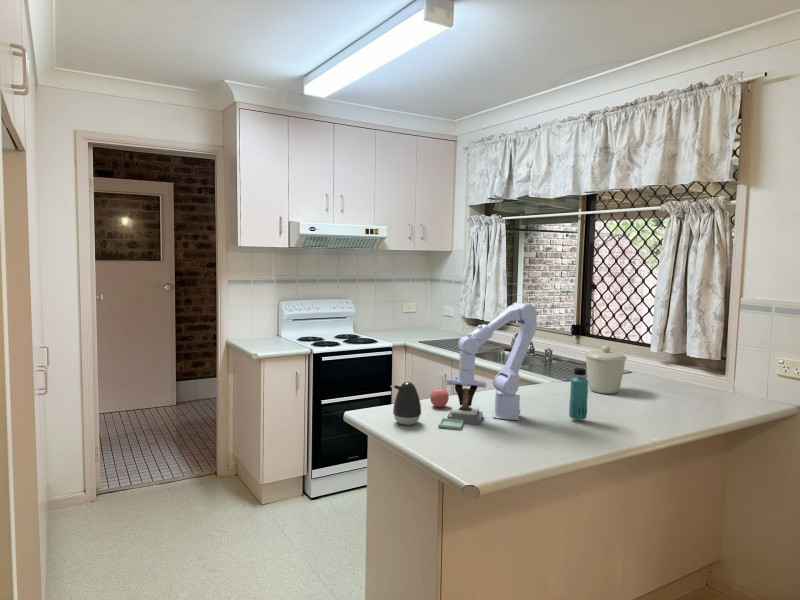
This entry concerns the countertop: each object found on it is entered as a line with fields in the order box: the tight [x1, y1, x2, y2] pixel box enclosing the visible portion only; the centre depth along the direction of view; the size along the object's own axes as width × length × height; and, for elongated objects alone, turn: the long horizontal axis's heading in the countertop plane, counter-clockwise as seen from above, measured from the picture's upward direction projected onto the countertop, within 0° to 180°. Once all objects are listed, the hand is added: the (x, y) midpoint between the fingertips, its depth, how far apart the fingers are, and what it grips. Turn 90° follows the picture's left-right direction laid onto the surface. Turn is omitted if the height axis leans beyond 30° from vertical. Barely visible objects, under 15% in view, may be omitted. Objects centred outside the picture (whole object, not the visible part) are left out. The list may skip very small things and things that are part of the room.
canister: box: [584, 345, 628, 395], centre depth 255 cm, size 18×18×21 cm
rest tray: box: [437, 417, 465, 431], centre depth 202 cm, size 8×8×1 cm
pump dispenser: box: [392, 381, 422, 426], centre depth 203 cm, size 10×10×15 cm
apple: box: [429, 387, 449, 408], centre depth 224 cm, size 7×7×8 cm
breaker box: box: [446, 404, 484, 426], centre depth 209 cm, size 12×10×4 cm
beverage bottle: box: [568, 367, 589, 420], centre depth 210 cm, size 6×7×20 cm
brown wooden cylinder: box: [462, 387, 470, 411], centre depth 208 cm, size 3×3×9 cm
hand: (465, 404), depth 209 cm, fingers closed on brown wooden cylinder, 3 cm apart
